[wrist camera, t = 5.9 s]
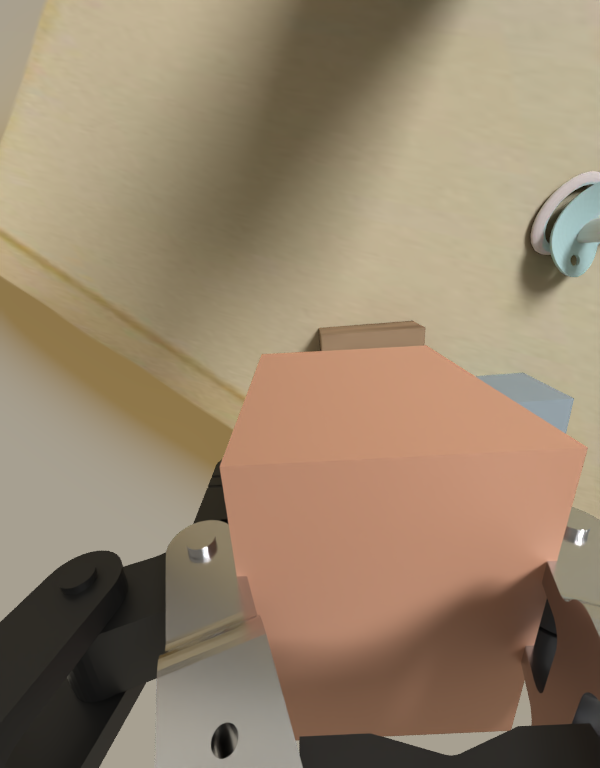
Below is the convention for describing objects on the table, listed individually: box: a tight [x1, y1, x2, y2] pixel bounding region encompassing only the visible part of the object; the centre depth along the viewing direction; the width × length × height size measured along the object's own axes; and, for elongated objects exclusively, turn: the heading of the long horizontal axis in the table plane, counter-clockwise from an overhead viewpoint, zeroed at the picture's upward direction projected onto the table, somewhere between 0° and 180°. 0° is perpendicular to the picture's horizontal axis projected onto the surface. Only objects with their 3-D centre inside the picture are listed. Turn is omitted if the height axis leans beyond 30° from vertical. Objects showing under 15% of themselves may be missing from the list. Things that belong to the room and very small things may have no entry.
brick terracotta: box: [220, 345, 588, 740], centre depth 8 cm, size 6×5×6 cm
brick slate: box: [475, 373, 574, 434], centre depth 29 cm, size 6×5×6 cm
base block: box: [319, 321, 425, 351], centre depth 29 cm, size 8×8×3 cm
